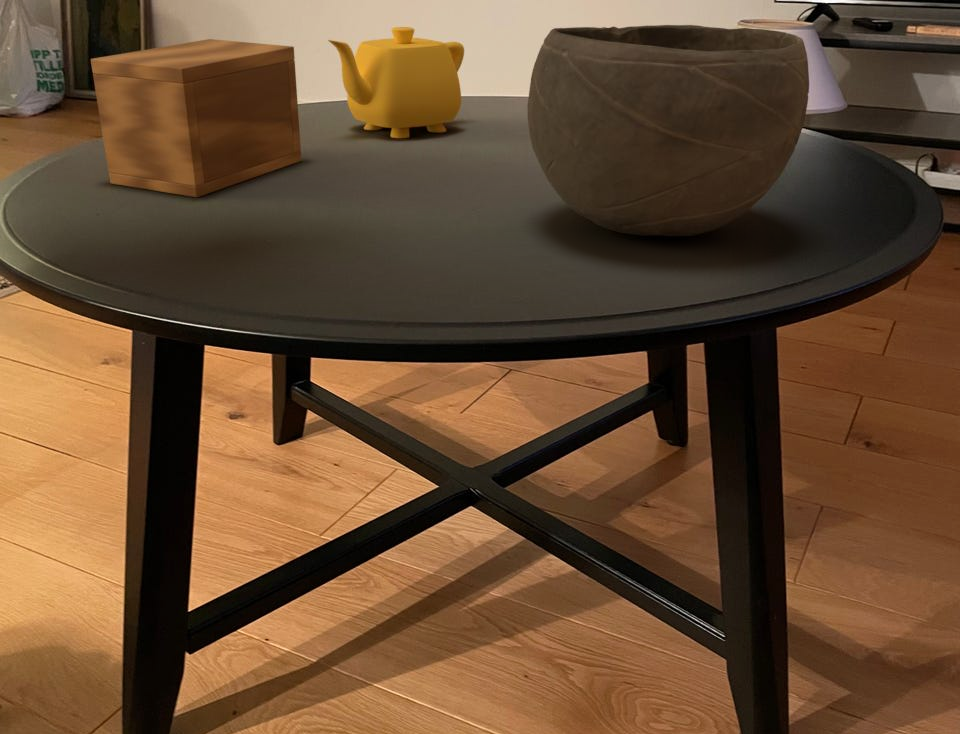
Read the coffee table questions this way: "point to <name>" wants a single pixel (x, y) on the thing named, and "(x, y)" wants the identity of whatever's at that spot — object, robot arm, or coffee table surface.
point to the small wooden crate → (197, 114)
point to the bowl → (666, 122)
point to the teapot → (402, 82)
